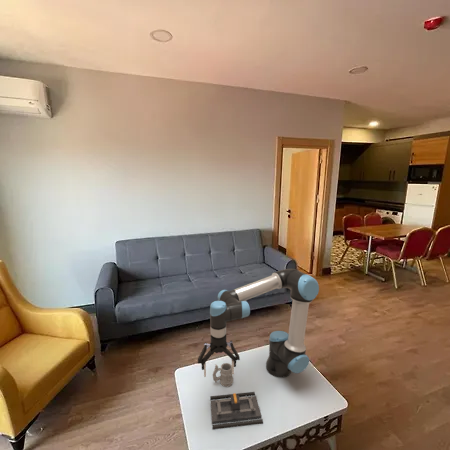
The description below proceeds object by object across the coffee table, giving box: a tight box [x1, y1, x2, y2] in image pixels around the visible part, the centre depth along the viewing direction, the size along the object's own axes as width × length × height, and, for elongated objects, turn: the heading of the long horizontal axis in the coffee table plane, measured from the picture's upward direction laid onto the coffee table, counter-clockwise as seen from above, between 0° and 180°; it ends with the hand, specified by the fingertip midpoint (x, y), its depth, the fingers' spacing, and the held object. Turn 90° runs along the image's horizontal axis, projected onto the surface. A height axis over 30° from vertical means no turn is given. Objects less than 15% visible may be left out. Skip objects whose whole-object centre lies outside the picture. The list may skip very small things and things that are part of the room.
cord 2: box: [211, 418, 264, 430], centre depth 122 cm, size 24×1×1 cm, turn 97°
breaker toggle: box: [230, 392, 240, 411], centre depth 129 cm, size 4×5×6 cm
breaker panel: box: [210, 395, 263, 425], centre depth 130 cm, size 24×12×3 cm, turn 97°
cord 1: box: [209, 391, 256, 401], centre depth 138 cm, size 24×1×1 cm, turn 97°
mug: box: [212, 362, 234, 388], centre depth 147 cm, size 8×12×12 cm, turn 101°
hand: (219, 373), depth 127 cm, fingers open, 13 cm apart
